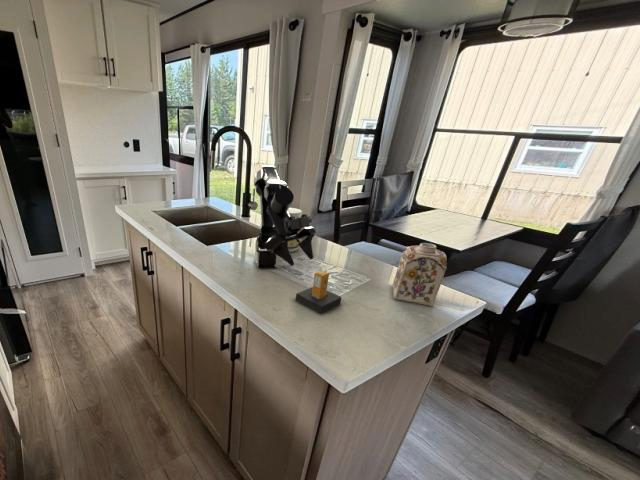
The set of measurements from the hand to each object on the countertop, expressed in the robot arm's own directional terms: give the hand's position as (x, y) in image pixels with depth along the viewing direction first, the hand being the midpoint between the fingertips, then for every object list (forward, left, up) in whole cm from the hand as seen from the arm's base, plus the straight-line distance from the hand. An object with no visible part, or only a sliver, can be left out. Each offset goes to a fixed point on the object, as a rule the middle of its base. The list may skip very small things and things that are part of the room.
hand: (302, 261), depth 103 cm
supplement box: (+4, -7, -11) cm, 14 cm away
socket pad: (+4, -7, -11) cm, 14 cm away
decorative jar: (+38, -4, -11) cm, 40 cm away
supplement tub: (+6, +43, -11) cm, 45 cm away
